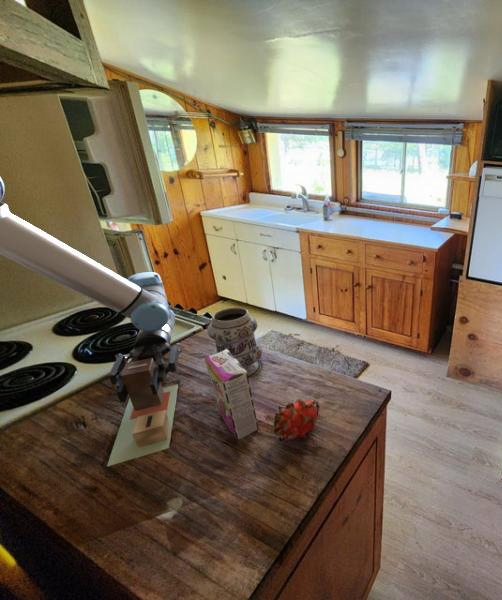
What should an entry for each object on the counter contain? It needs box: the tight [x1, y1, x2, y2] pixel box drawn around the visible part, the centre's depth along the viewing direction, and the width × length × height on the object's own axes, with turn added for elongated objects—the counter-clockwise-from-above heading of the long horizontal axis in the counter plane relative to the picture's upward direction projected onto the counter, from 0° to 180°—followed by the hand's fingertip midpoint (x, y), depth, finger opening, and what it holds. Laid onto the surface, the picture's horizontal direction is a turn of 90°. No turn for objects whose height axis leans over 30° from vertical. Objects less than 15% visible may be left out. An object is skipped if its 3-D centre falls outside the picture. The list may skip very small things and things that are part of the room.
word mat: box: [106, 383, 179, 468], centre depth 73 cm, size 10×22×1 cm, turn 27°
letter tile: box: [132, 410, 170, 448], centre depth 68 cm, size 5×5×4 cm
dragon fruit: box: [272, 398, 320, 442], centre depth 71 cm, size 8×8×12 cm
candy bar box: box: [204, 349, 259, 441], centre depth 70 cm, size 11×5×16 cm, turn 45°
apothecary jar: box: [207, 306, 263, 379], centre depth 87 cm, size 12×12×18 cm
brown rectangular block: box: [121, 358, 164, 411], centre depth 74 cm, size 5×5×10 cm
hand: (137, 393), depth 70 cm, fingers closed on brown rectangular block, 5 cm apart
